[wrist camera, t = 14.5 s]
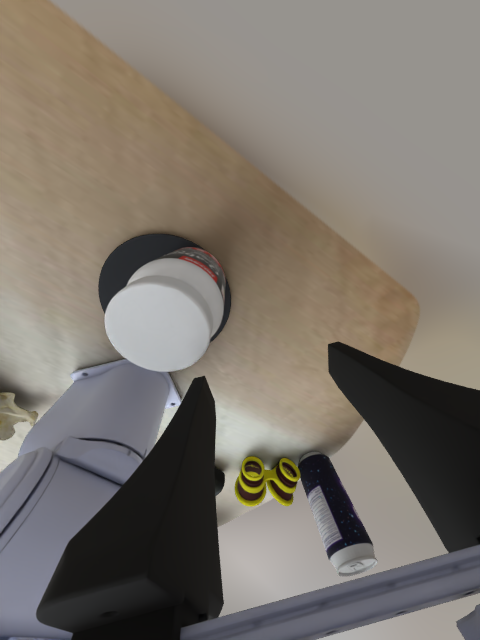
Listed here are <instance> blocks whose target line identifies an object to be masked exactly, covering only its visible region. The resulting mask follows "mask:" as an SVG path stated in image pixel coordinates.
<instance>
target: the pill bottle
mask: <svg viewBox="0 0 480 640" xmlns="http://www.w3.org/2000/svg"><path fill="white" fill-rule="evenodd" d="M225 284H226V280H225V274H224V271H223V269H222V267H221V265H220V263H219V262H218V260H217V259H216V258H215V257H214V256H212V255H211V254H210V253H208V252H206V251H204V250H202V249H199V248H193V247H187V248H181V249H178V250H175V251H173V252H171V253H169V254H167V255H164V256H162V257H160V258H158V259H155V260H153V261H151V262H149V263H147V264H145V265H144V266H142V267H141V268H139V269H138V270H137V271H136V272H135V273H134V274H133V275H132V277H131V278H130V280H129V281H128V283H127V286H126V287H125V288H123V289H122V290H120V291H119V292H118V293H117V294H116V295H115V296H114V297H113V298H112V299H111V301H110V302H109V304H108V306H107V309H106V312H105V329H106V333H107V335H108V338H109V340H110V342H111V343H112V345H113V346H114V347H115V349H116V350H117V351H118V352H119V353H120V354H121V355H122V356H123V357H125V358H126V359H127V360H129V361H130V362H132V363H134V364H136V365H138V366H140V367H143V368H145V369H149V370H153V371H159V372H171V371H177V370H181V369H184V368H187V367H189V366H191V365H193V364H194V363H195V362H197V361H198V360H199V359H200V358H201V357H202V356H203V354H204V353H205V352H206V350H207V348H208V345H209V342H210V338H211V337H212V336H213V335H214V334H215V333H216V331H217V330H218V328H219V326H220V324H221V321H222V317H223V312H224V300H225Z"/></svg>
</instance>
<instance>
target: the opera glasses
mask: <svg viewBox="0 0 480 640" xmlns="http://www.w3.org/2000/svg"><path fill="white" fill-rule="evenodd" d="M299 478H300V471H299V469H298V467H297V466H296V465H295V464H294V463H293V462H292V461H291V460H289V459H287V458H282V459H281V460H280V462H279V464H278V465H277V466H276V467H275V468H274V469H273V470H264V465H263V463H262V461H261V460H260V459H259V458H257V457H254V456H250V457H247V458H245V459H244V461H243V463H242V469H241V471H240V474H239V476H238V478H237V480H236V483H235V494H236V497H237V499H238V500H239V501H240V502H241V503H242V504H244V505H246V506H256V505H258V504H259V503H261V502H262V500H263V499H264V497H265V495H266V482H267V486H268V489H269V491H270V493H271V494H272V496H273V497H274V498H275V499H276V500H277V501H278V502H279V503H281V504H282V505H284V506H289V505H291V504H292V502H293V492H294V491H295V489H296V484H297V481H298V480H299Z"/></svg>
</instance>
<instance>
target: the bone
mask: <svg viewBox="0 0 480 640" xmlns="http://www.w3.org/2000/svg"><path fill="white" fill-rule="evenodd" d="M14 397H15V394H14V393H6V392H4V393H0V440H6V439H9V438H11V437H12V436H13V435H14V433H15V430H14V427H13V425H14V424H16V423H18V422H24V421H28V422H29V423H30V424H31V426H34V425H35V422H36V420H37V418H38V413H37V412H36V411H33V412H30V411H27V410H24V409H23V408H21V407H18V406H17V405H16V404H15V403H14Z"/></svg>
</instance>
